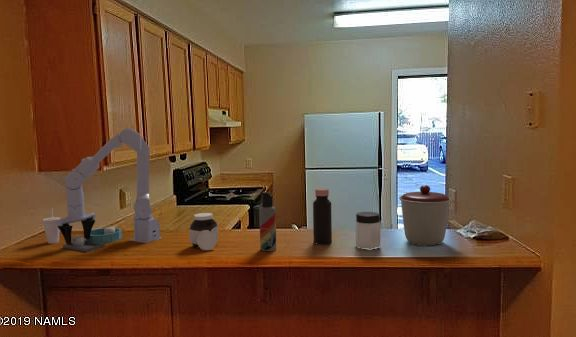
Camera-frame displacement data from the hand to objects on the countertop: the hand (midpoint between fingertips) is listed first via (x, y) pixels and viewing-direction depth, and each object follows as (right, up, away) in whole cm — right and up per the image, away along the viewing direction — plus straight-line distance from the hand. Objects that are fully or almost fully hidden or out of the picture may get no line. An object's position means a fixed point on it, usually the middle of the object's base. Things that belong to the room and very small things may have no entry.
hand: (78, 240), depth 159 cm
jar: (+107, -1, -8) cm, 107 cm away
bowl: (+5, -1, +10) cm, 11 cm away
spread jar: (+48, -2, -3) cm, 48 cm away
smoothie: (-13, -2, +7) cm, 15 cm away
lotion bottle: (+71, -2, -8) cm, 72 cm away
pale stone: (+7, 0, +13) cm, 14 cm away
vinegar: (+91, -1, -1) cm, 91 cm away
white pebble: (0, -2, 0) cm, 2 cm away
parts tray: (+3, -3, -1) cm, 4 cm away
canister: (+128, 0, -3) cm, 128 cm away
